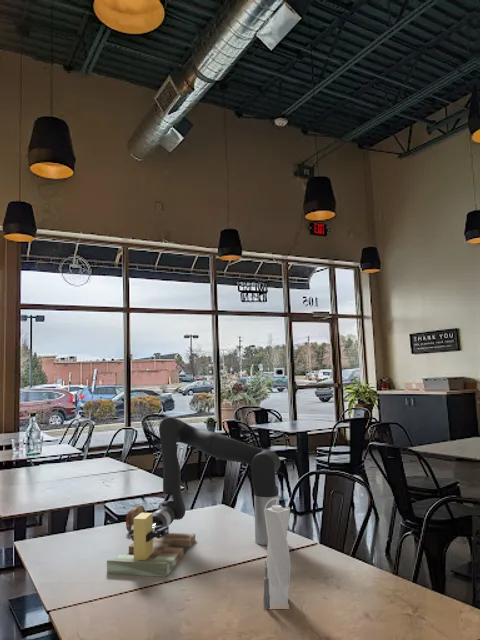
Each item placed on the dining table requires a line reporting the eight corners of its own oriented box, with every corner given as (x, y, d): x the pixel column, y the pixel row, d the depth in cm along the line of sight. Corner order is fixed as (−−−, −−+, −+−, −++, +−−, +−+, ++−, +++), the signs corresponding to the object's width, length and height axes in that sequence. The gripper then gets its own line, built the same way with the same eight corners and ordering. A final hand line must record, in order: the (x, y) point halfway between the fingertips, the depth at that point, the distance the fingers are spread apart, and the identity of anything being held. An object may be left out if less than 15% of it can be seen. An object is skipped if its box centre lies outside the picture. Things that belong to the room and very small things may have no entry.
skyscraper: (263, 597, 149) (261, 496, 152) (291, 597, 149) (288, 496, 152) (263, 610, 141) (261, 504, 144) (293, 610, 141) (290, 504, 143)
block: (141, 552, 177) (141, 512, 178) (152, 552, 176) (152, 512, 178) (133, 559, 170) (133, 518, 171) (145, 560, 170) (145, 518, 171)
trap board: (145, 538, 203) (145, 527, 203) (195, 540, 199) (195, 529, 200) (106, 573, 168) (106, 560, 169) (166, 576, 165) (166, 563, 165)
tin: (131, 534, 208) (131, 513, 209) (124, 534, 209) (124, 512, 210) (146, 523, 223) (145, 503, 224) (139, 523, 223) (139, 503, 224)
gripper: (176, 534, 186) (160, 551, 169) (138, 532, 189) (119, 549, 172) (176, 512, 187) (160, 527, 170) (138, 511, 190) (119, 526, 173)
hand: (140, 538), depth 171 cm, fingers closed on block, 4 cm apart
